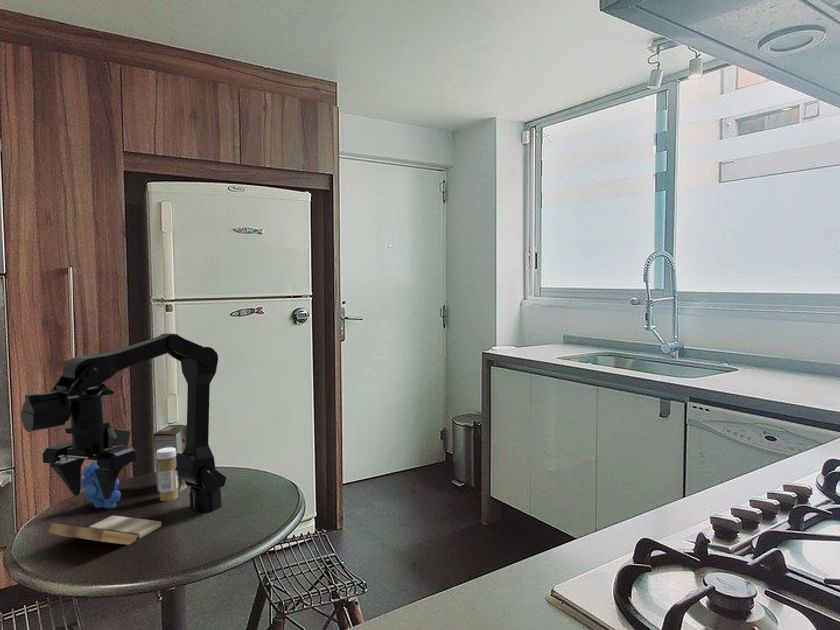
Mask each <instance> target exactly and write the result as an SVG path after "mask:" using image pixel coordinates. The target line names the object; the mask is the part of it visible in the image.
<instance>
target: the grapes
mask: <svg viewBox="0 0 840 630" xmlns="http://www.w3.org/2000/svg"><path fill="white" fill-rule="evenodd" d="M97 468H100V467H99V466H98V465H97V460H93V461H92V462H91V463H90V464H89V465H86V466H84V467H83V468H82V470H81V475H82V476H83V478H81V488H83V489H84V494H85V499H86V500H87V501H88V502H90V503H93V505H94V507H95V508H96V509H100V508H104V509H106V510H107V509H113V508H116V506H117V502H119V501H120V499H121V494H122V493H121V492H120V490H119V489H118V487H119V485H120V480H119V479H118V478H117V480H116V483H115V486H114V489H113V492H112V496H111V498H110V499H108V500H105V499H104V496H103V494H102V491H101V488H100V485H99V482H98V479H97V476H96V473H95V469H97Z"/></svg>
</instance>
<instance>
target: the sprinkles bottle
mask: <svg viewBox="0 0 840 630" xmlns="http://www.w3.org/2000/svg"><path fill="white" fill-rule="evenodd" d="M156 458H157V463H158V484H159V493H158V494H159V501H161V502H170V501H174V500H177V498H179V493H178V481H177V471H175V468H176V449H175V448H173V447H168V448H162V449H159V450H157V451H156Z"/></svg>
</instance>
